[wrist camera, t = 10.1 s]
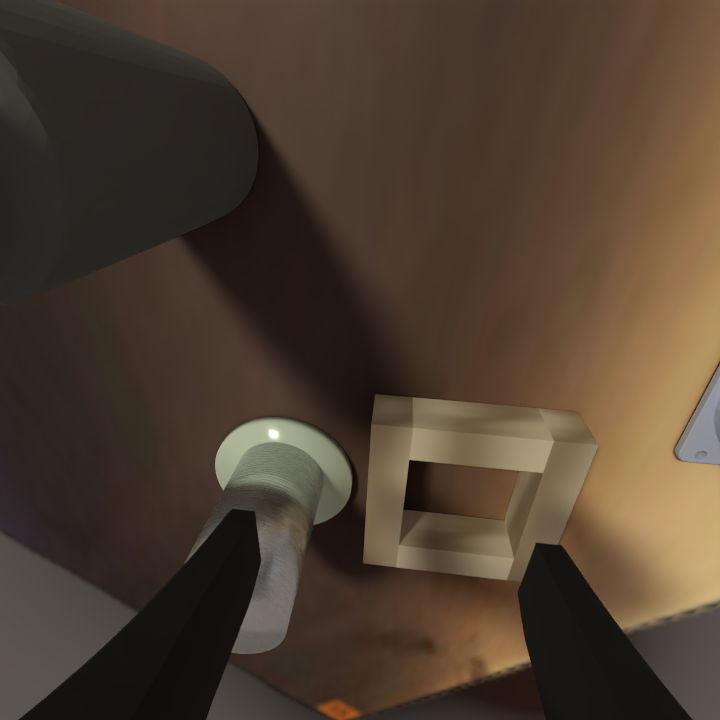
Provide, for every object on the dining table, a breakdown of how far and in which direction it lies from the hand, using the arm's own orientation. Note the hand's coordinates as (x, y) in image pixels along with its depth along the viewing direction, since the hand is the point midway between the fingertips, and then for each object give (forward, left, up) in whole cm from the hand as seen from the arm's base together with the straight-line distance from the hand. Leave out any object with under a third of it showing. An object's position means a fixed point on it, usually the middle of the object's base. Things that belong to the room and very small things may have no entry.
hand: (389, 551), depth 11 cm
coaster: (+6, +8, -10) cm, 14 cm away
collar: (-4, +7, -10) cm, 13 cm away
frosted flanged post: (+6, +8, -10) cm, 14 cm away
